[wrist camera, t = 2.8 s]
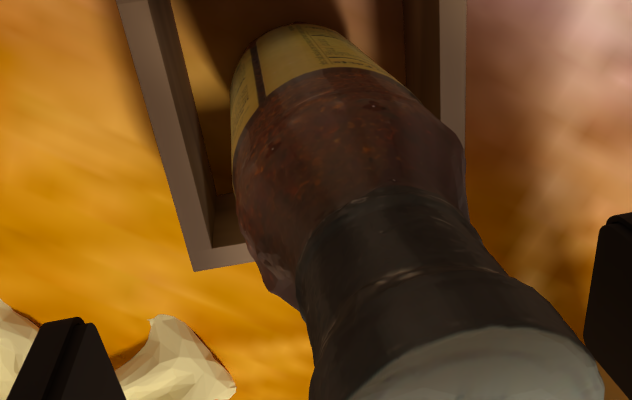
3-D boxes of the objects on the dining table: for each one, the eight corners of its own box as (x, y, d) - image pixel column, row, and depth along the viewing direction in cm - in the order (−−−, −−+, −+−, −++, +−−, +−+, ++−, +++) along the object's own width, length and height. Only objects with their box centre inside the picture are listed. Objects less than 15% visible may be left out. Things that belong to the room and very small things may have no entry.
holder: (422, -79, 22) (467, -80, 18) (428, 177, 28) (463, 225, 23) (135, -38, 21) (107, -28, 17) (201, 215, 27) (193, 271, 23)
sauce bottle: (291, 172, 27) (386, 644, 9) (201, 80, 24) (92, 499, 6) (394, 87, 25) (738, 452, 8) (311, -21, 23) (548, 166, 5)
